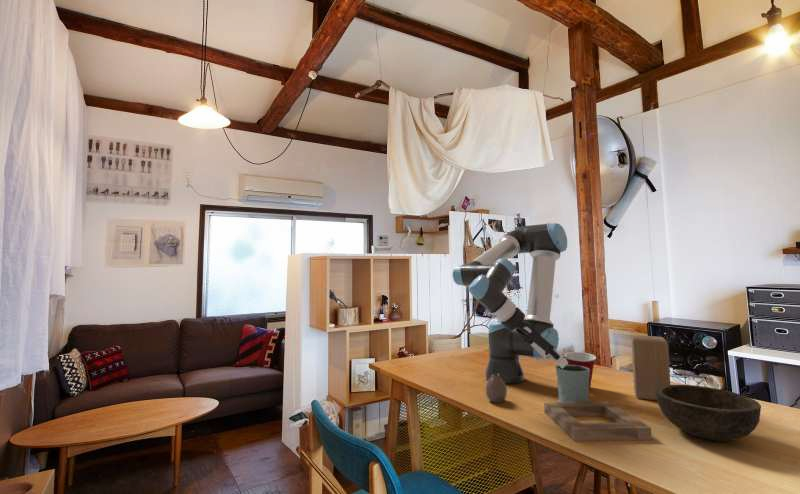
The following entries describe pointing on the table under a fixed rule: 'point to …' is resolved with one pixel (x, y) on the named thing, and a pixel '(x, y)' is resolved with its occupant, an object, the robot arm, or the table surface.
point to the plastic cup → (581, 361)
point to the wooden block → (649, 365)
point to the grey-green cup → (573, 383)
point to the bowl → (709, 411)
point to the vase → (496, 389)
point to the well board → (618, 430)
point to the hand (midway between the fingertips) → (555, 360)
